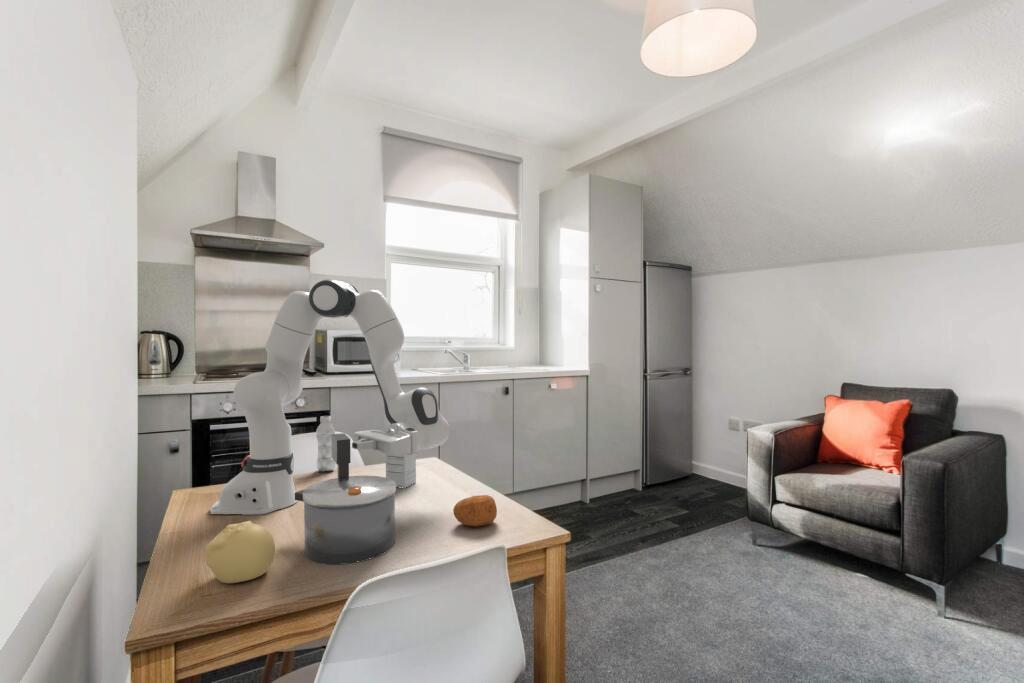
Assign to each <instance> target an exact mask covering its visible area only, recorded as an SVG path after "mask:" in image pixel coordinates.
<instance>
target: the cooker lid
mask: <svg viewBox="0 0 1024 683" xmlns="http://www.w3.org/2000/svg"><path fill="white" fill-rule="evenodd" d="M331 438H332V458H333V460H334V461H335V462H336V466H337V477H334V478H330V479H325V480H321V481H318V482H316V483H313V484H310V485H309V486H307V487H305V490H304V489H303V490H304V491H303V501H304V502H305V503H307V504H309V505H312V506H317V507H326V508H342V507H354V506H361V505H366V504H371V503H374V502H378V501H381V500H384V499H386V498H388V497H390V496H391V495H393V494H394V493H395V494H396V492H397V488H396V483H395V481H393V480H391V479H389V478H386V476H385V477H384V476H378V475H350V464H351V438H350V437H349V436H348V435H347V434H346V433H344V432H343V433H335V434H331ZM303 501H302V502H303ZM304 502H303V503H304Z"/></svg>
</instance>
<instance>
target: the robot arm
mask: <svg viewBox="0 0 1024 683" xmlns="http://www.w3.org/2000/svg"><path fill="white" fill-rule="evenodd" d="M324 317H325V318H330V319H340V318H347V317H351V318H353V319H354V320H355V322H356V323H357V325H358V327H359V330H360V331H361V333H362V335H363V337H364V339H365V342H366V345H367V348H368V349H367V350H368V353H369V362H370V365H371V369H372V372H373V375H374V377H375V380H376V383H377V386H378V388H379V392H380V394H381V395H382V396H381V397H382V399H383V400H382V401H383V404H384V405H383V406H384V414H385V418H386V419H387V421H388V423H389V424H390V425H389V426H388V428H387V429H386V430H381V429H369V430H359V431H355V432H353V435H352V437H353V438H352V439H353V441H352V443H351V448H352V449H355V450H358V451H361V450H371V451H375V452H378V453H381V454H382V453H383V454H385V455H386V454H388V455H403V454H408V455H415V454H416V455H417V454H418V453H419V452H418V451H419V450H421V451H423V450H425V451H426V450H429V449H434V448H436V447H439V446H441V445H443V444H445V442H447V441H448V439H449V436H450V431H451V430H450V428H451V427H450V424H449V422H448V420H447V419H446V418H445V417H444V416H443V414H442V413H441V411H440V409H439V407H438V401H437V397H436V395H435V393H434V392H433V391H432V390H430V389H429V388H427V387H418V388H415V389H412V390H409V391H407V392H404V391H403V389H402V387H401V383H400V380H399V378H398V376H397V372H396V369H395V361H396V358H397V355H398V353H399V352H400V350H401V349H402V347H403V344H404V343H405V342H404V341H405V332H404V330H403V327H402V324H401V322H400V320H399V318H398V316H397V314H396V312H395V310H394V309H393V307H392V305H391V304H390V302H389V301H388V300H387V298H386V297H385V295H384V294H383V293H382V292H381V291H379V290H376V289H367V290H364V291H362V292H359V291H358V290H357V288H356V287H355V286H354V285H352V284H350V283H348V282H346V281H344V280H338V279H330V278H329V279H323V280H320V281H318V282H316V283H315V284H314V285H313V286H312V287H311V289H310V292H308V291H304V290H295V291H292V292H290V293H289V294H288V296H286V298H285V300H284V302H283V303H282V305H281V307H280V309H279V311H278V312H277V315H276V317H275V319H274V322H273V325H272V327H271V330H270V333H269V336H268V338H267V340H266V343H265V346H264V348H265V351H266V353H267V354H266V355H267V357H266V358H267V359H266V366H265V369H264V371H258V372H257V371H256V372H252V373H250V374H248V375H246V376H244V377H242V378H241V379H239V380H237V382H236V384H235V385H234V388H233V393H232V394H233V395H232V396H233V400H234V402H235V404H236V405H237V406H238V408H240V409H241V410H242V411H243V412H242V413H243V414H244V417H245V420H246V423H247V428H248V434H249V438H248V439H249V455H247V456H245V458H244V459H243V460H242V462H241V463H240V465H241V468H242V471H241V472H239V473H238V474H237V475H235V476H234V477H233V478H231V479H230V480H229V481H228V482H227V483H226V484H224V486H223V488H222V489H221V491H220V495H219V500H218V501H216V502H215V503H214V504H212V506H210V509H209V513H210V512H211V513H212V514H242V515H266V514H268V513H271V512H273V511H276V510H280V509H281V510H282V509H284V508H288V507H290V506H292V505H295V504H296V503H297V502H298V500H295V492H297V491H296V488H295V484H294V475H293V474H294V473H293V472H294V468H295V458H294V453H293V452H292V450H293V449H292V427H291V425H290V424H289V423H288V421H287V418H286V415H285V413H284V408H283V406H285V405H288V404H289V405H290V404H291V403H293V402H294V401H296V399H298V398H299V397H300V396H301V394H302V392H303V388H304V382H303V379H302V375H303V367H304V362H305V359H306V355H307V353H308V352H307V351H308V349H309V347H310V345H311V342H312V339H313V337H314V333H315V331H316V328H317V326H318V324H319V322H320V321H321V319H323V318H324Z"/></svg>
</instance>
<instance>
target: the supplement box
mask: <svg viewBox="0 0 1024 683" xmlns="http://www.w3.org/2000/svg"><path fill="white" fill-rule="evenodd" d="M416 456H417V454H415V455H408V454H403V455H388V454H385V478H389V479H391V480H393V481H395V483H396V487H403V488H402V489H406V487H407V488H408V487H410V486H412V485H414V484H416V483H417V463H416V462H417V459H416V458H417V457H416ZM415 482H416V483H415ZM413 483H414V484H413ZM411 484H412V485H411Z"/></svg>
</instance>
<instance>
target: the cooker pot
mask: <svg viewBox="0 0 1024 683" xmlns="http://www.w3.org/2000/svg"><path fill="white" fill-rule="evenodd" d="M305 489H306V488H305ZM305 489H301V490H298V491H296V492H295V500H298V501H299V502H303V504H304V505H303V507H304V508H303V509H304V510H303V514H304V517H303V518H304V520H303V524H304V528H303V529H304V555H305V557H306V558H307V559H308V560H310V561H312V562H315V563H317V562H318V564H322V563H325V564H324V565H342V564H341V563H350V564H353V563H352V562H356V563H358V562H357V561H361V562H363V561H362V560H365V561H367V560H366V559H369V558H372V557H375V558H377V557H379V556H378V555H380V554H382V553H384V552H385V553H387V552H388V551H389V549H390V548H391V547H392V546H393V547H394V545H395V544H396V543H395V542H396V513H395V512H396V498H395V497H396V496H395V495H396V492H395V493H394V494H393V495H391V496H390V497H388V498H386V499H384V500H381V501H378V502H374V503H371V504H366V505H361V506H354V507H342V508H326V507H317V506H312V505H309V504H307V503H305V502H304V501H303V491H304V490H305ZM298 501H297V502H298ZM393 547H392V548H393ZM392 548H391V549H392ZM391 549H390V550H391ZM387 550H388V551H387ZM386 551H387V552H386ZM385 553H384V554H385ZM382 555H383V554H382ZM376 556H377V557H376ZM380 556H381V555H380ZM372 559H373V558H372ZM369 560H370V559H369Z"/></svg>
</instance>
